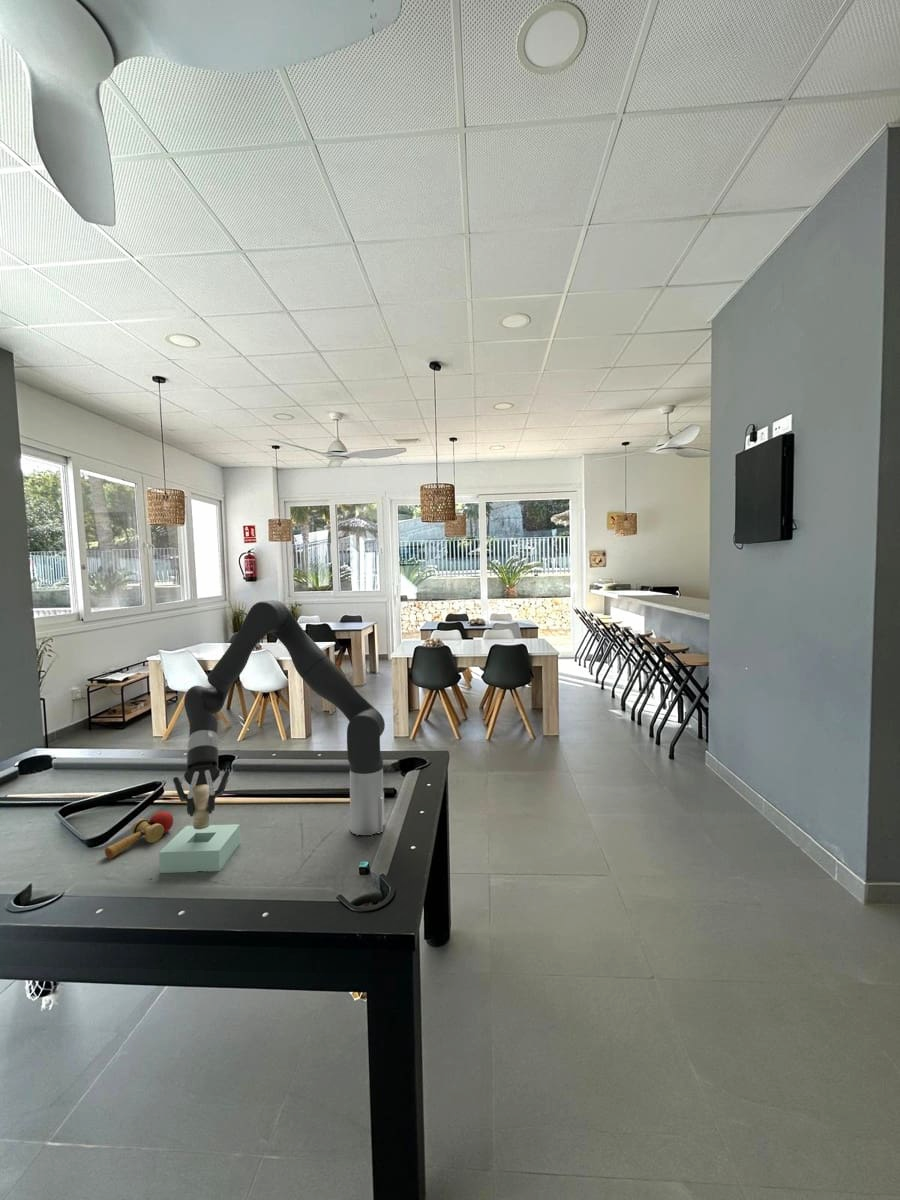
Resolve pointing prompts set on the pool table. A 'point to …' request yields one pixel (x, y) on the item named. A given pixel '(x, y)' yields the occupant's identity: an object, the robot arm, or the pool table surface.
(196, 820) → the pin
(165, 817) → the kendama
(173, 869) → the socket block
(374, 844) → the pool table surface
